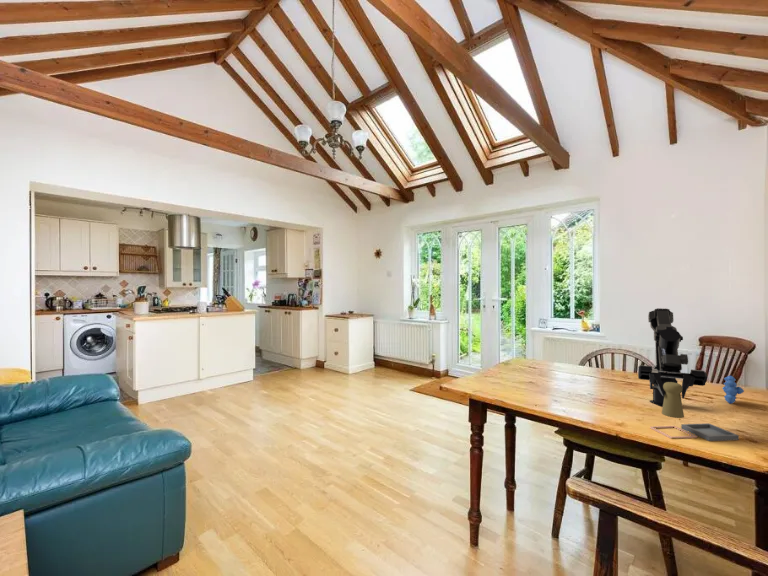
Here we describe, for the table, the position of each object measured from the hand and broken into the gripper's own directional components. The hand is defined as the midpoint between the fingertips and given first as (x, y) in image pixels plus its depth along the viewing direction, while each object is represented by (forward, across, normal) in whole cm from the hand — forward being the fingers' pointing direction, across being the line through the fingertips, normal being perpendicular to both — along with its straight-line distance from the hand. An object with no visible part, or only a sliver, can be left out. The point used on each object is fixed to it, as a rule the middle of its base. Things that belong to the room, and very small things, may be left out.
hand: (673, 396), depth 123 cm
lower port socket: (+5, +10, +13) cm, 17 cm away
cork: (+4, 0, +6) cm, 7 cm away
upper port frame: (+8, 0, +10) cm, 13 cm away
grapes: (-26, +25, +45) cm, 58 cm away
